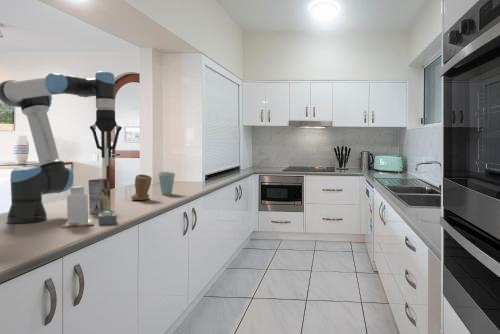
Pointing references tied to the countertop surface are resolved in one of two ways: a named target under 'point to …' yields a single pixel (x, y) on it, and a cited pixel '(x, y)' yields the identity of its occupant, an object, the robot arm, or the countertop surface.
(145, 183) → the stone cup
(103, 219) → the button housing
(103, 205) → the coffee box
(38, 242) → the countertop surface
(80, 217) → the pill bottle
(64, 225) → the clipboard
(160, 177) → the disposable coffee cup
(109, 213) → the button
